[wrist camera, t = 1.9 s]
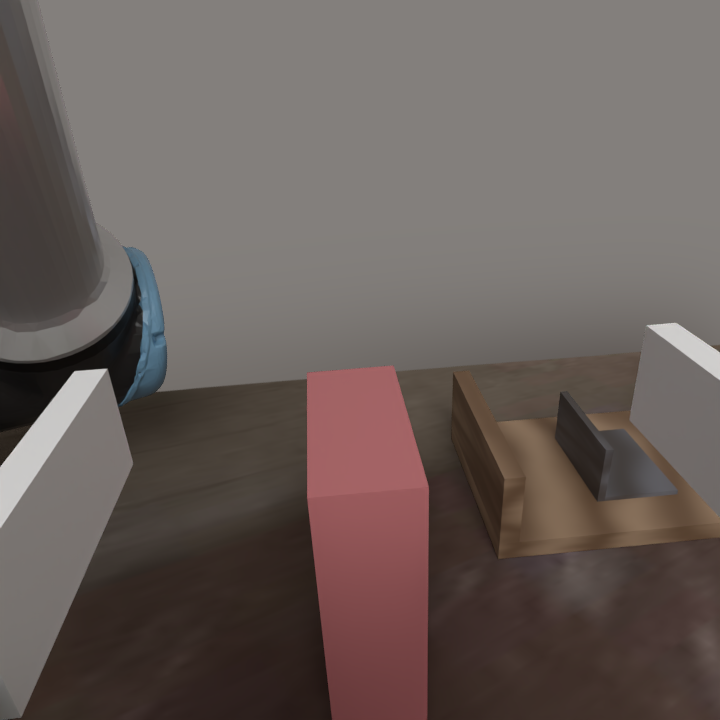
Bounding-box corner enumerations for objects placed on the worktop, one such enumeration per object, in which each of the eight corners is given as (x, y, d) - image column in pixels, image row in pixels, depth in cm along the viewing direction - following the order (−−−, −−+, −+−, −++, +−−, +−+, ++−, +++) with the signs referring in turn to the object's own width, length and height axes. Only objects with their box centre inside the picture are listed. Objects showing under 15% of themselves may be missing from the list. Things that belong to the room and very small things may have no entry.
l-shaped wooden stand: (498, 559, 44) (504, 478, 41) (451, 438, 58) (453, 371, 55) (729, 536, 45) (754, 456, 42) (627, 423, 59) (640, 356, 56)
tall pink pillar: (336, 757, 32) (307, 498, 24) (329, 595, 42) (307, 372, 34) (426, 747, 32) (429, 487, 24) (398, 588, 42) (393, 365, 34)
